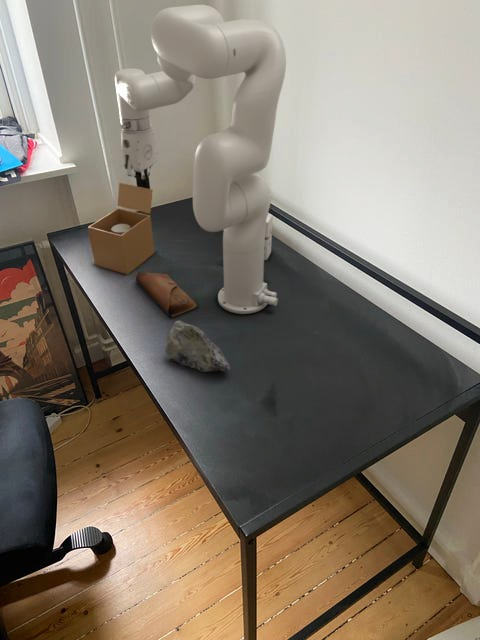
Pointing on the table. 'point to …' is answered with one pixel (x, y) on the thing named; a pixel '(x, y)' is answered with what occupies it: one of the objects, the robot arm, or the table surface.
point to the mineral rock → (194, 349)
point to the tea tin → (120, 228)
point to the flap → (135, 197)
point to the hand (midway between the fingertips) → (144, 190)
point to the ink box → (268, 236)
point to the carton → (121, 241)
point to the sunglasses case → (165, 293)
